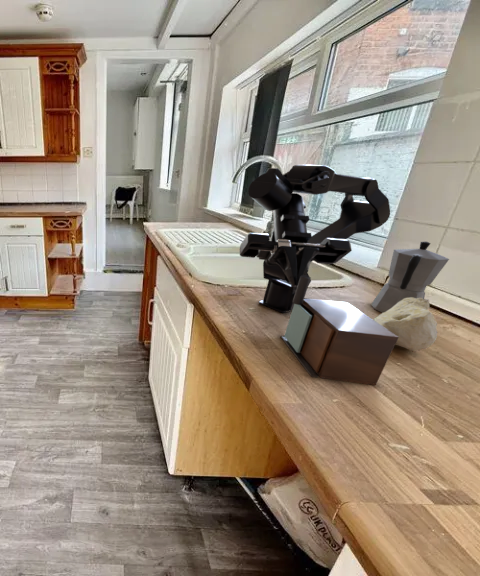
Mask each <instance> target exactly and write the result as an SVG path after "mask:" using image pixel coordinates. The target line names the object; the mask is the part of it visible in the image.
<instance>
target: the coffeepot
mask: <svg viewBox="0 0 480 576" xmlns="http://www.w3.org/2000/svg"><path fill="white" fill-rule="evenodd" d="M430 245H431V242H430V241H429V242H428V241H425V240H424V241H420V244H419V248H402V249H401V248H400V249H399V248H398V249H397V248H396V249H393V252H392V257H391V261H390V266H389V270H388V277H389V279H388V281H387V282H386V283H385V284H384V285H383V286H382V288H381V289H380V290H379V292H378V294H377V295H376V296H375V298H374V299H373V301H371V303H370V304H371V306H372V308H373V309H374V310H376V311H378V312H380V313H381V314H382V313H384V312H386V311H387V310H389V309H391V308H392V307H393V306H394V305H396V304H397V303H398V302H399V301H401V300H403V299H404V298H409V297H413V298H416V299H417V298H423V300H424V299H425V297H426V292H425V290H426V289H427V287H428V286H430V285H432V283H433V282H434V280H435V279H436V278H437V277H438V275H439V274H440V273H441V272H442V270H443V269H444V267H445V266H446V264H447V263H448V261H449V260H450V259H449V258H448V257H445V256H444V255H441V254H438V253H436V252H433V251H431V250H427V249H428V248H429V247H430Z"/></svg>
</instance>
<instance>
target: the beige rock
mask: <svg viewBox="0 0 480 576" xmlns="http://www.w3.org/2000/svg"><path fill="white" fill-rule="evenodd" d="M429 309H430V299H429V298H424V300H423V298H417V299H416V298H413V297H409V298H404V299H403V300H401V301H399V302H398V303H397V304H396V305H394V306H393V307H392V308H391V309H389V310H387V311H386V312H384V313H382V312H381V313H380V314H378V315H377V316H376V317H375V318H372V319H373V320H374V321H376V322H377V323H379V324H380V325H382V326H383V327H385V328H386V329H387V330H389V331H390V332H392V333H393V334H395V335H396V336H398V337H399V338H398V340H397V342H396V344H395V346H398V347H402V348H404V349H407V350H408V351H410V352H414V353H415V352H417V351H420V350H427V349H428V348H430V347H431V346H433V344H435V342H436V340H437V339H438V329H437V327H438V322H437V320H436V318H435V316H434V313H432V312H431V311H430V310H429Z"/></svg>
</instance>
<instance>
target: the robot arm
mask: <svg viewBox="0 0 480 576" xmlns="http://www.w3.org/2000/svg"><path fill="white" fill-rule="evenodd" d="M328 192H329V193H330V192H331V193H340V194H344V198H343V200H342V201H341V203H340V210H341V211H340V213H339V214H340V215H339V218H338V219H336V220H335V221H334V222H332V223H330V224H329V225H327V226H326V227H323V228H322V229H321V230H319V231H318V232H316V233H314V234H313V235H312V232H308V230H307V228H308V227H307V224H308V222H310V216H309V215H306V213H305V209H306V208H307V206H306V204H305V202H304V197H303V196H302V195H301V194H305V195H314V196H315V195H316V196H317V195H325V194H327V193H328ZM247 194H248V196H249V197H250V198H251V199H252V200H253V201H254V202H255V203H257V204H258V205H259V206H260V207H262V208H263V209H265V210H266V211H268V212H272V220H273V221H272V222H273V228H272V229H271V232H270V234H271V236H270V234H269V233H265V232H264V233H263V232H248V233H247V234H246V236H245V237H244V239H243V240H242V242H241V244H240V245H239V256H240V257H241V258H251V259H254V258H258V260H262V261H263V263H262V271H263V273H262V274H263V279H264V280H267V285H266V288H265V292H264V295H263V299H261V300H259V301H258V304H260V305H262V306H264V307H267V308H269V309H271V310H273V311H276V312H278V313H281V314H286V313H288V312H292V310H293V307H294V303H293V299H294V295H295V292H296V289H297V286H298V283H299V280H300V276H302V275H304V276H309V277H310V275H309V270H310V265H311V263H312V262H313V261H314V262H315V263H317V264H323V265H334V264H337V263H338V262H340V260H342V259H343V258H344V257H346V256H347V255H348V254H350V253H351V252H352V251H353V250H352V249H353V248H352V243H351V242H350V240H348V238H350V237H352V236H353V235H355V234H361V233H367V232H371V231H374V230H376V229H378V228H380V227H382V226H383V225H385V223H387V221H389V218H390V216H391V208H390V207H391V206H390V199H389V198H388V196H387V195H385V194H384V193H383V192H382V190H381V189H380V188H379V182H378V180H377V179H375V178H373V177H360V176H353V175H347V174H341V173H336V170H335V169H334V168H332V167H329V166H328V165H326V164H294V165H292V166H291V168H290V170H288V171H286V172H285V173H282V171H281V170H280V169H279V168H277V167H269V168H267V170H266V172H265V173H263V174H261V175H259V176H257V177H256V178H255V179H254V180H253V181H251V183H250V184H249V187H248V190H247ZM353 196H357V197H358V196H360V197H364V199H365V201H362V200H361V201H360V200H354V197H353ZM311 282H312V278H311V279H310V282H309V285H308V287H309V286H310V284H311Z"/></svg>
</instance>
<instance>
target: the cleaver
mask: <svg viewBox="0 0 480 576" xmlns="http://www.w3.org/2000/svg"><path fill="white" fill-rule="evenodd" d="M310 279H311V280H312V277H310V275H309V276H304V275H302V276H300V280H299V283H298V286H297V289H296V292H295V295H294V299H293V303H294V307H293V310H292V311H291V313H290V317H289V319H288V322H287V325H286V328H285V332H284V335H283V336H284V337H285V338H286V339H287V340H288V342H289V343H290V344H291V345H292V347H293V348H294V349H295V350H296V352H297V353H300V349H301V346H302V344H303V341H304V338H305V335H306V332H307V329H308V326H309V323H310V321H311V318H312V316H311V315H310V314H309V313H308V312H307V311H306V310H305V309H304V308H303V307H302V306H300V305H302V303H303V300H304V298H306V297H305V296H306V295H307V291H308V288H309V286H310V284H309V282H310ZM310 283H311V282H310ZM308 285H309V286H308Z"/></svg>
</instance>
